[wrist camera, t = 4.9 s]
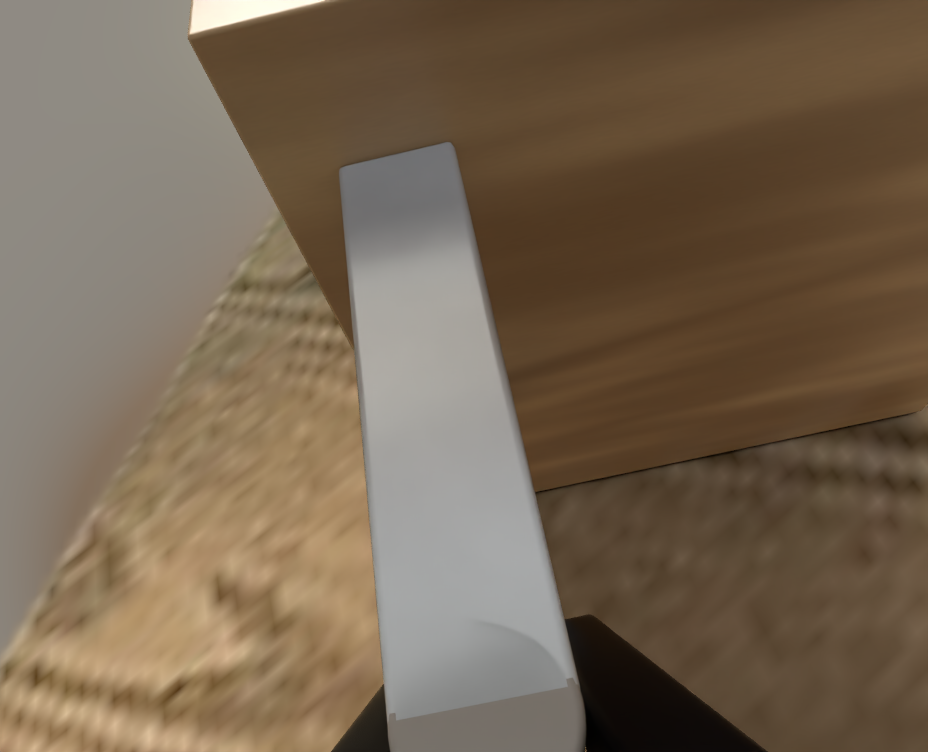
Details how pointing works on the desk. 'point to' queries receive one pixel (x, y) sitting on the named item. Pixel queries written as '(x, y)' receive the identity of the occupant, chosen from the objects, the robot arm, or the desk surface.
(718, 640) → the desk surface
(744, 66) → the cupboard door
